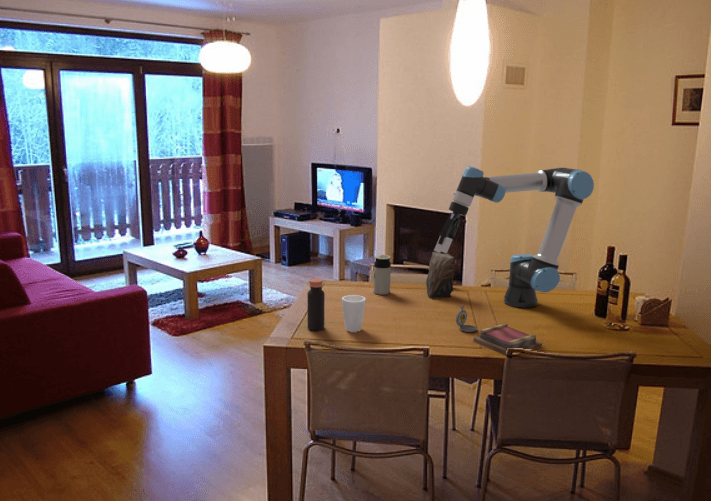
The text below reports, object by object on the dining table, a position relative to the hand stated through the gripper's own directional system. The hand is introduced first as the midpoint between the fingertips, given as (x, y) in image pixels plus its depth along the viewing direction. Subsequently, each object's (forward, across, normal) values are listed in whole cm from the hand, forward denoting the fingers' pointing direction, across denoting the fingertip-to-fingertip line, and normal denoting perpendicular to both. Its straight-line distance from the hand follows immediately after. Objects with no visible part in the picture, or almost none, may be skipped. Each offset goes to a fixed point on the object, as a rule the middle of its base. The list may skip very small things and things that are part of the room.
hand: (440, 252), depth 244 cm
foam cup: (+41, +16, -17) cm, 48 cm away
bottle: (+47, +21, -31) cm, 60 cm away
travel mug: (+32, -35, -25) cm, 53 cm away
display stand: (+22, +8, +39) cm, 45 cm away
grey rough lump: (+23, -41, -2) cm, 47 cm away
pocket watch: (+25, -1, +22) cm, 33 cm away
